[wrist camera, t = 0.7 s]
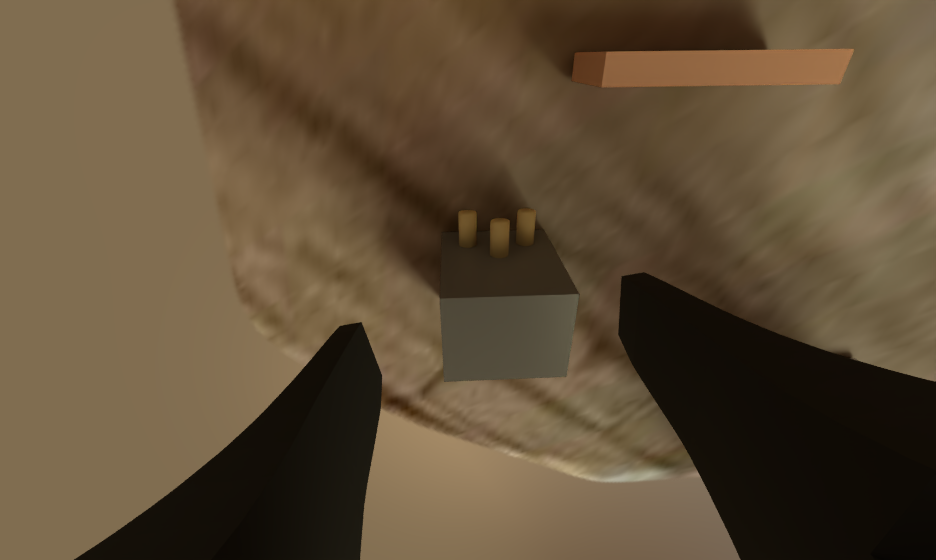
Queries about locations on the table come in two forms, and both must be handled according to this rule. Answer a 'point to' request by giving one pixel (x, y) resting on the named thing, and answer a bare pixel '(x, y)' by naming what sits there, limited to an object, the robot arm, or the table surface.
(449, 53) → the table surface
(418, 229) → the table surface
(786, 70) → the orange flat block
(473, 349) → the plug
